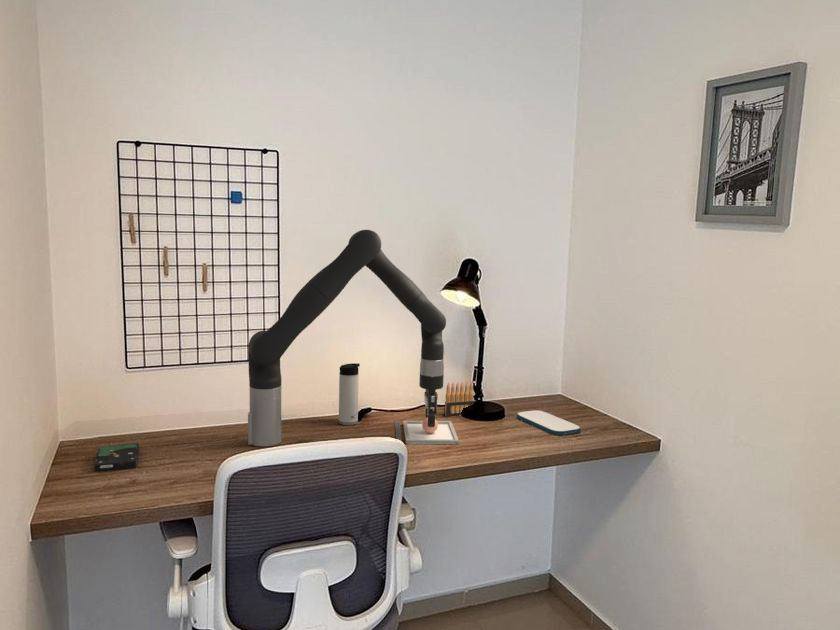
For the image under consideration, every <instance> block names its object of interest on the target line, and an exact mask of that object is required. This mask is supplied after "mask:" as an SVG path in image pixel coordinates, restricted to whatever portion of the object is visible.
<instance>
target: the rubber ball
mask: <svg viewBox="0 0 840 630" xmlns="http://www.w3.org/2000/svg"><path fill="white" fill-rule="evenodd" d="M422 421H423V423H422V427H423V429H424V431H425V432H427V433H433V432H435V431H436V430H437V428H438V423H437V421H438V420H437V419H436V418H435V426H434V427H428V417H427V418H426V417H425V418H424V419H423V420H422Z"/></svg>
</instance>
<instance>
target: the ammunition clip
mask: <svg viewBox="0 0 840 630" xmlns="http://www.w3.org/2000/svg"><path fill="white" fill-rule="evenodd" d="M445 392H446V393H445V402H444V410H443V411H444V412H443V416H444V417H445V418H452V417H451V416H456V417H460V416H459V415H461V412H462V410H463V408H466V407H468V406H471V405H473V404H474V403H475V402H474V385H473V381H470V383H469V382H468V381H466V382H465V385H464V382H463V381H461V384H459V382H458V381H457V382H456V385H455V383H454V382H452V383H451V386H450V383H449V382H448V383H447V385H446V391H445ZM474 405H475V404H474Z"/></svg>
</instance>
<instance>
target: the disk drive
mask: <svg viewBox="0 0 840 630" xmlns="http://www.w3.org/2000/svg"><path fill="white" fill-rule="evenodd" d="M139 447H140V446H139V443H137V442H135V443H125V444H123V443H122V444H117V445H107V446H103V445H101V446H100V447H99V448H98V449H97V454H96V457H95V461H94V465H93V466H94V467H93V468H94V470H93V471H94V473H102V472H112V471H123V470H124V471H125V470H130V469H131V470H132V469H135V470H136V469H138V460H139V453H140V448H139Z"/></svg>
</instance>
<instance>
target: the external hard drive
mask: <svg viewBox="0 0 840 630" xmlns="http://www.w3.org/2000/svg"><path fill="white" fill-rule="evenodd" d="M516 418H517V420H519V419H520V420H519V421H521V420H522V421H521V422H523V421H524V422H523V423H525V422H526V423H525V424H527V423H528V424H527V425H530V426H532V425H533V426H532V427H534V426H535V427H534V428H536V427H537V428H536V429H538V428H539V430H540V429H541V431H542V432H545V431H546V433H547V432H548V433H547V434H549V433H550V435H552V434H553V436H556V435H558V437H564V436H563V435H565V436H570V434H572V435H576V433H578V434H580V433H581V427H580V426H579V425H577V424H575V423H573V422H571V421H567V420H566V419H563V418H561V417H558V416H556V415H554V414H551V413H549V412H546V411H544V410H539V409H538V410H534V409H533V410H527V411H519V412H517V415H516ZM579 432H580V433H579Z"/></svg>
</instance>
